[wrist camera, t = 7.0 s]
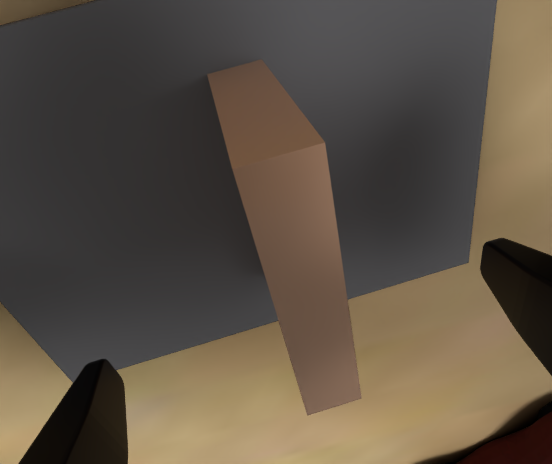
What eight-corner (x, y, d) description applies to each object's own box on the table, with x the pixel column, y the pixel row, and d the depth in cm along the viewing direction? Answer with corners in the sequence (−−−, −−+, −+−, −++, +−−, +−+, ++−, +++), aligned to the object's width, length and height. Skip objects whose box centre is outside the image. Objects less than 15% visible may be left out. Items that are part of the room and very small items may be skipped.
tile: (261, 59, 12) (325, 142, 7) (306, 264, 16) (361, 398, 12) (207, 74, 12) (232, 169, 7) (267, 276, 16) (307, 415, 12)
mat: (493, -106, 11) (508, -108, 11) (460, 254, 19) (468, 262, 18) (-182, 73, 10) (-199, 80, 10) (76, 371, 18) (73, 383, 18)
